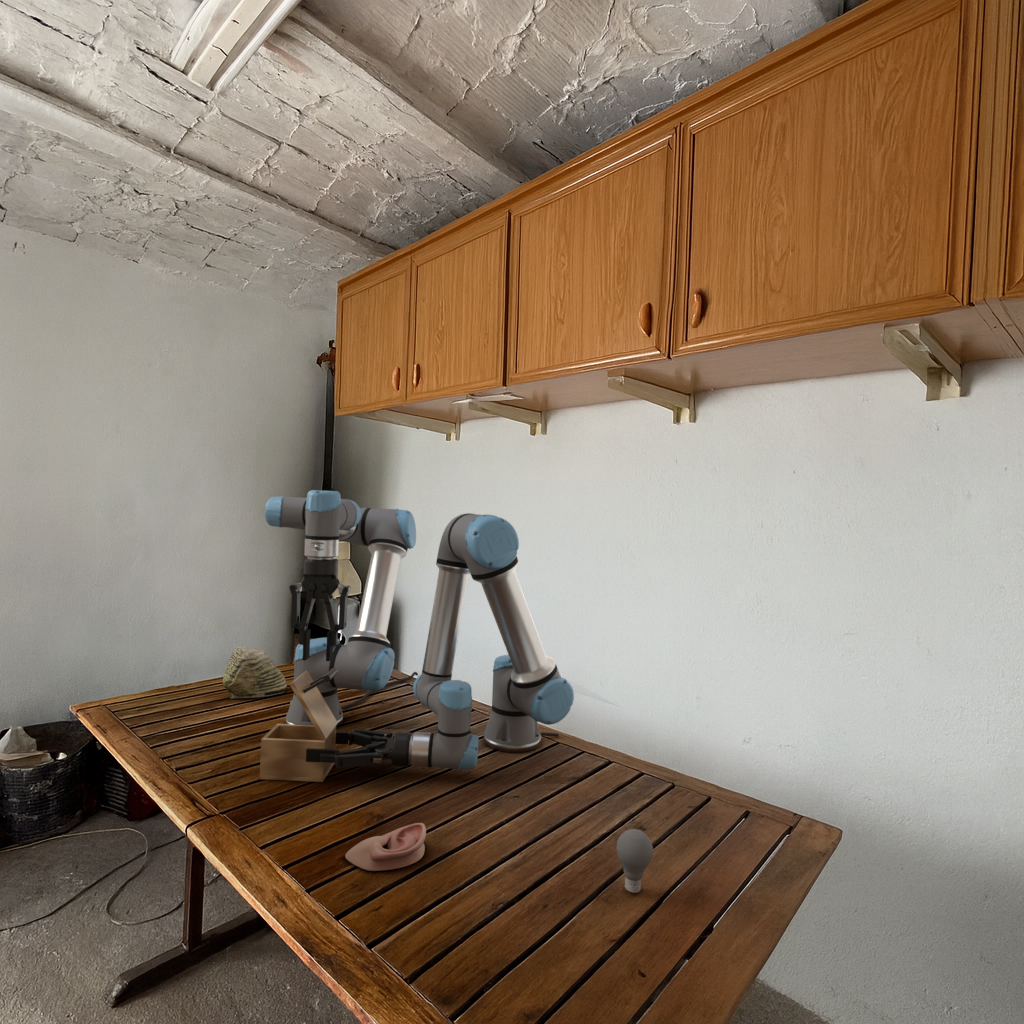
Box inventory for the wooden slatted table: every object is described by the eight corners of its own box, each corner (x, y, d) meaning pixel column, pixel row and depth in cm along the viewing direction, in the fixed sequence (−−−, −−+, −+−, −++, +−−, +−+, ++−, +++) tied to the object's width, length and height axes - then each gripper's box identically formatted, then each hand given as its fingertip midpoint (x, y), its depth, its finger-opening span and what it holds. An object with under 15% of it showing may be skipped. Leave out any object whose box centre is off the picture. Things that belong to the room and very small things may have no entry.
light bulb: (610, 879, 108) (613, 822, 108) (644, 879, 109) (647, 822, 109) (619, 902, 102) (622, 840, 102) (655, 901, 103) (658, 840, 103)
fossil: (218, 695, 195) (220, 647, 195) (278, 685, 208) (279, 640, 207) (228, 703, 189) (230, 653, 188) (289, 692, 201) (290, 645, 201)
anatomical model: (337, 842, 109) (366, 811, 120) (336, 865, 109) (365, 832, 120) (410, 854, 106) (432, 821, 117) (409, 878, 106) (432, 842, 118)
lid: (289, 684, 140) (320, 666, 140) (303, 672, 150) (332, 655, 150) (322, 740, 140) (353, 723, 140) (334, 724, 150) (363, 708, 150)
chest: (259, 779, 140) (261, 739, 140) (275, 761, 150) (277, 723, 150) (322, 782, 141) (324, 742, 140) (334, 763, 150) (336, 726, 150)
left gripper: (276, 557, 141) (272, 662, 141) (356, 561, 141) (352, 665, 141) (288, 554, 148) (284, 653, 149) (363, 557, 148) (359, 656, 149)
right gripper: (402, 787, 134) (297, 783, 134) (417, 746, 157) (327, 743, 157) (403, 752, 134) (298, 748, 134) (418, 716, 157) (328, 713, 156)
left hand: (317, 659), depth 145 cm, fingers open, 5 cm apart
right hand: (313, 745), depth 145 cm, fingers closed on chest, 10 cm apart
